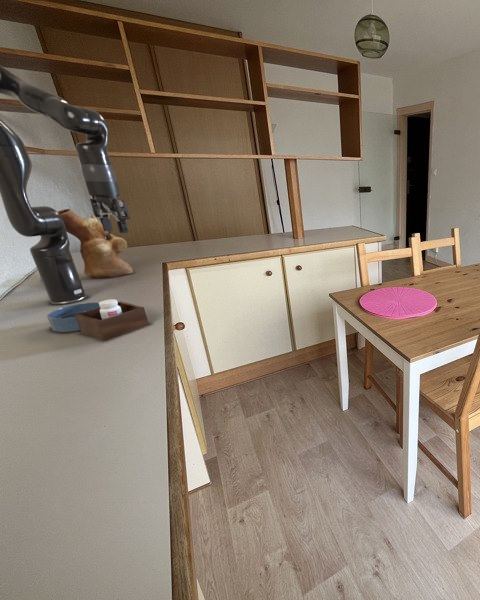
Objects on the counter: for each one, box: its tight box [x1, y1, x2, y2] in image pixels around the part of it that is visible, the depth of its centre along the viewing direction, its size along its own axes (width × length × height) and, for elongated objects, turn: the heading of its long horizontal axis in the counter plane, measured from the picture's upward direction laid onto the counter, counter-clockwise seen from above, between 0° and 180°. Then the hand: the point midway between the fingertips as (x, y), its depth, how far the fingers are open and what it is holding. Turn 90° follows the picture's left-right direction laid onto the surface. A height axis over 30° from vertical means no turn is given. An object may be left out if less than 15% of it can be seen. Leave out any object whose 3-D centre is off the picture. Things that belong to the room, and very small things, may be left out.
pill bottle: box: [98, 298, 122, 319], centre depth 93 cm, size 5×5×8 cm
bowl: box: [46, 302, 100, 333], centre depth 97 cm, size 13×13×4 cm
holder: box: [75, 300, 150, 342], centre depth 94 cm, size 12×12×6 cm
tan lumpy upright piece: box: [56, 208, 134, 279], centre depth 138 cm, size 16×22×30 cm
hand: (116, 232), depth 104 cm, fingers open, 8 cm apart
